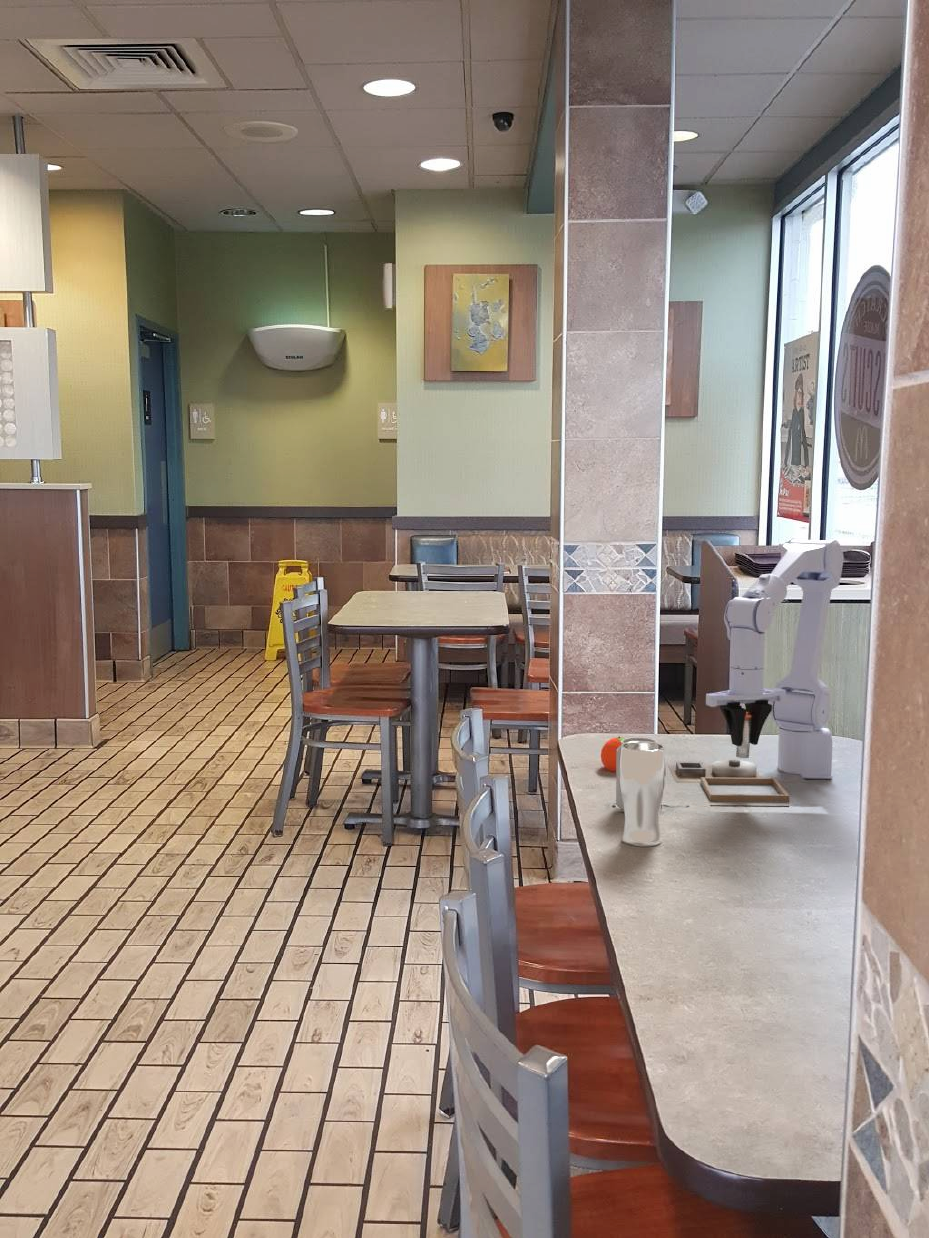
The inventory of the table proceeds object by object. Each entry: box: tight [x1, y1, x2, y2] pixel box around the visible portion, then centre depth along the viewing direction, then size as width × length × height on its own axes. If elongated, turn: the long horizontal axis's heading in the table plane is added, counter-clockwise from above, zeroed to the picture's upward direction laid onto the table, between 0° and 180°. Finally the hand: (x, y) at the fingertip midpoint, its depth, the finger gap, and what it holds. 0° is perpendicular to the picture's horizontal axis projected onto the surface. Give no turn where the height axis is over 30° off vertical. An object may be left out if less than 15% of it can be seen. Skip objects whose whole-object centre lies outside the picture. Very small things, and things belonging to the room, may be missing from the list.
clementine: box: [600, 736, 626, 773], centre depth 212 cm, size 8×7×7 cm
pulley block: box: [667, 759, 763, 783], centre depth 208 cm, size 16×12×3 cm
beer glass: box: [620, 741, 666, 848], centre depth 172 cm, size 7×7×15 cm
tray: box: [700, 777, 790, 808], centre depth 196 cm, size 13×11×2 cm
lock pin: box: [735, 711, 754, 759], centre depth 195 cm, size 3×3×8 cm
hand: (744, 744), depth 195 cm, fingers closed on lock pin, 2 cm apart
